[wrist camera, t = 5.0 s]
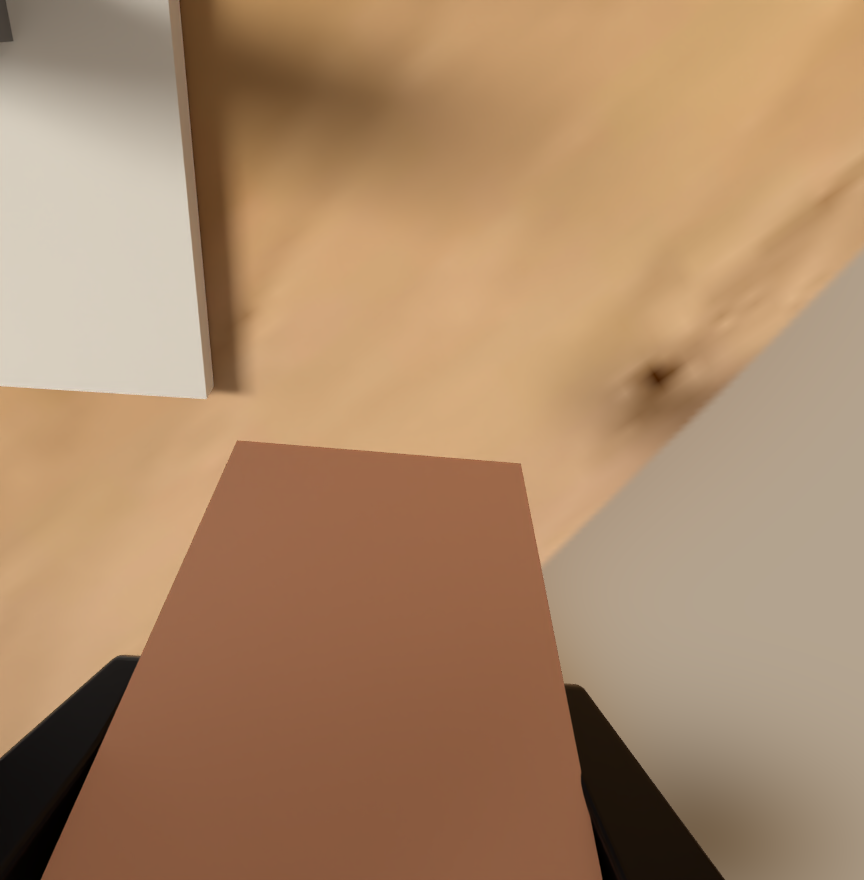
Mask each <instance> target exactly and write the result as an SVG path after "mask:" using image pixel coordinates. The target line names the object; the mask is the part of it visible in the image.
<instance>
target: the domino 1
mask: <svg viewBox="0 0 864 880" xmlns="http://www.w3.org/2000/svg"><path fill="white" fill-rule="evenodd" d="M11 41H13V36H12V31H11V26H10V20H9V15H8V10H7V5H6V0H0V42H11Z"/></svg>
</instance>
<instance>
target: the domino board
mask: <svg viewBox="0 0 864 880" xmlns="http://www.w3.org/2000/svg"><path fill="white" fill-rule="evenodd" d="M6 5H7V10H8V15H9V20H10V26H11V31H12V36H13V41H11V42H0V386H8V387H24V388H39V389H55V390H71V391H87V392H102V393H118V394H134V395H150V396H165V397H181V398H197V399H207V398H208V396H209V394H210V392H211V391H212V389H213V387H214V382H213V370H212V359H211V348H210V337H209V326H208V315H207V304H206V292H205V281H204V270H203V259H202V248H201V237H200V225H199V214H198V203H197V192H196V181H195V170H194V159H193V147H192V136H191V125H190V114H189V103H188V92H187V80H186V69H185V58H184V47H183V36H182V25H181V14H180V2H179V0H6Z"/></svg>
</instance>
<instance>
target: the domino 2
mask: <svg viewBox="0 0 864 880" xmlns="http://www.w3.org/2000/svg"><path fill="white" fill-rule="evenodd" d="M41 880H602V875H601V870H600V865H599V859H598V854H597V849H596V844H595V839H594V834H593V829H592V824H591V819H590V814H589V811H588V808H587V805H586V802H585V799H584V795H583V790H582V786H581V768H580V763H579V758H578V753H577V748H576V743H575V737H574V732H573V727H572V722H571V717H570V712H569V707H568V702H567V697H566V692H565V687H564V682H563V677H562V671H561V667H560V661H559V656H558V651H557V646H556V641H555V636H554V631H553V626H552V621H551V616H550V610H549V606H548V600H547V595H546V590H545V585H544V580H543V575H542V570H541V565H540V559H539V554H538V549H537V544H536V539H535V534H534V529H533V524H532V519H531V514H530V509H529V504H528V498H527V493H526V488H525V483H524V478H523V473H522V468H521V464H519V463H507V462H494V461H482V460H470V459H458V458H445V457H433V456H421V455H408V454H396V453H384V452H372V451H359V450H347V449H335V448H322V447H310V446H298V445H286V444H273V443H261V442H249V441H237V442H236V444H235V447H234V449H233V451H232V453H231V456H230V458H229V460H228V462H227V464H226V467H225V469H224V471H223V473H222V476H221V478H220V480H219V482H218V485H217V487H216V489H215V491H214V494H213V496H212V498H211V500H210V502H209V505H208V507H207V509H206V511H205V514H204V516H203V518H202V520H201V523H200V525H199V527H198V529H197V532H196V534H195V536H194V538H193V540H192V543H191V545H190V547H189V549H188V552H187V554H186V556H185V558H184V561H183V563H182V565H181V567H180V570H179V572H178V574H177V576H176V578H175V581H174V583H173V585H172V587H171V590H170V592H169V594H168V596H167V599H166V601H165V603H164V605H163V608H162V610H161V612H160V614H159V616H158V619H157V621H156V623H155V625H154V628H153V630H152V632H151V634H150V637H149V639H148V641H147V643H146V646H145V648H144V650H143V652H142V654H141V657H140V659H139V661H138V663H137V666H136V668H135V670H134V672H133V675H132V677H131V679H130V681H129V683H128V686H127V688H126V690H125V692H124V695H123V697H122V699H121V701H120V704H119V706H118V708H117V710H116V713H115V715H114V717H113V719H112V721H111V724H110V726H109V728H108V730H107V733H106V735H105V737H104V739H103V742H102V744H101V746H100V748H99V751H98V753H97V755H96V757H95V759H94V762H93V764H92V766H91V768H90V771H89V773H88V775H87V777H86V780H85V782H84V784H83V786H82V789H81V791H80V793H79V795H78V797H77V800H76V802H75V804H74V806H73V809H72V811H71V813H70V815H69V818H68V820H67V822H66V824H65V827H64V829H63V831H62V833H61V835H60V838H59V840H58V842H57V844H56V847H55V849H54V851H53V853H52V856H51V858H50V860H49V862H48V865H47V867H46V869H45V871H44V873H43V876H42V878H41Z"/></svg>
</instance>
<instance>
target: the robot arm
mask: <svg viewBox="0 0 864 880" xmlns="http://www.w3.org/2000/svg"><path fill="white" fill-rule="evenodd" d="M140 657H141V656H133V655H120V656H117V657H115V658H114V659H112V660H111V661H110V662H109V663H108V664H106V665H105V666H104V667H103V668H102V669H101V670H100V671H99V672H97V673H96V674H95V675H94V676H93V677H92V678H91V679H89V680H88V681H87V682H86V683H85V684H84V685H83V686H81V687H80V688H79V689H78V690H77V691H76V692H75V693H74V694H72V695H71V696H70V697H69V698H68V699H67V700H66V701H64V702H63V703H62V704H61V705H60V706H59V707H58V708H57V709H55V710H54V711H53V712H52V713H51V714H50V715H49V716H47V717H46V718H45V719H44V720H43V721H42V722H41V723H39V724H38V725H37V726H36V727H35V728H34V729H33V730H32V731H30V732H29V733H28V734H27V735H26V736H25V737H24V738H22V739H21V740H20V741H19V742H18V743H17V744H16V745H15V746H13V747H12V748H11V749H10V750H9V751H8V752H7V753H5V754H4V755H3V756H2V757H1V758H0V880H41V878H42V876H43V873H44V871H45V869H46V867H47V865H48V862H49V860H50V858H51V856H52V853H53V851H54V849H55V847H56V844H57V842H58V840H59V838H60V835H61V833H62V831H63V829H64V827H65V824H66V822H67V820H68V818H69V815H70V813H71V811H72V809H73V806H74V804H75V802H76V800H77V797H78V795H79V793H80V791H81V789H82V786H83V784H84V782H85V780H86V777H87V775H88V773H89V771H90V768H91V766H92V764H93V762H94V759H95V757H96V755H97V753H98V751H99V748H100V746H101V744H102V742H103V739H104V737H105V735H106V733H107V730H108V728H109V726H110V724H111V721H112V719H113V717H114V715H115V713H116V710H117V708H118V706H119V704H120V701H121V699H122V697H123V695H124V692H125V690H126V688H127V686H128V683H129V681H130V679H131V677H132V675H133V672H134V670H135V668H136V666H137V663H138V661H139V659H140ZM564 687H565V692H566V697H567V702H568V707H569V712H570V717H571V722H572V727H573V732H574V737H575V743H576V748H577V753H578V758H579V763H580V768H581V786H582V790H583V795H584V799H585V802H586V805H587V808H588V811H589V814H590V819H591V824H592V829H593V834H594V839H595V844H596V849H597V854H598V859H599V865H600V870H601V875H602V880H725V879H724V878H723V877H722V875H721V874H720V872H719V871H718V870H717V868H716V867H715V866H714V864H713V863H712V862H711V860H710V859H709V858H708V856H707V855H706V853H705V852H704V851H703V849H702V848H701V847H700V845H699V844H698V843H697V841H696V840H695V839H694V837H693V836H692V835H691V833H690V832H689V830H688V829H687V828H686V826H685V825H684V824H683V822H682V821H681V820H680V818H679V817H678V816H677V814H676V813H675V812H674V810H673V809H672V807H671V806H670V805H669V803H668V802H667V801H666V799H665V798H664V797H663V795H662V794H661V792H660V791H659V790H658V789H657V787H656V786H655V784H654V783H653V782H652V780H651V779H650V778H649V776H648V775H647V773H646V772H645V771H644V769H643V768H642V767H641V765H640V764H639V763H638V761H637V760H636V759H635V757H634V756H633V755H632V753H631V752H630V750H629V749H628V748H627V746H626V745H625V744H624V742H623V741H622V740H621V738H620V737H619V736H618V734H617V733H616V731H615V730H614V729H613V727H612V726H611V725H610V723H609V722H608V721H607V719H606V718H605V717H604V715H603V714H602V713H601V711H600V710H599V709H598V707H597V706H596V705H595V703H594V702H593V700H592V699H591V698H590V696H589V695H588V693H587V692H586V691H585V690H584V688H582V687H581V686H579V685H576V684H564Z"/></svg>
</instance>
